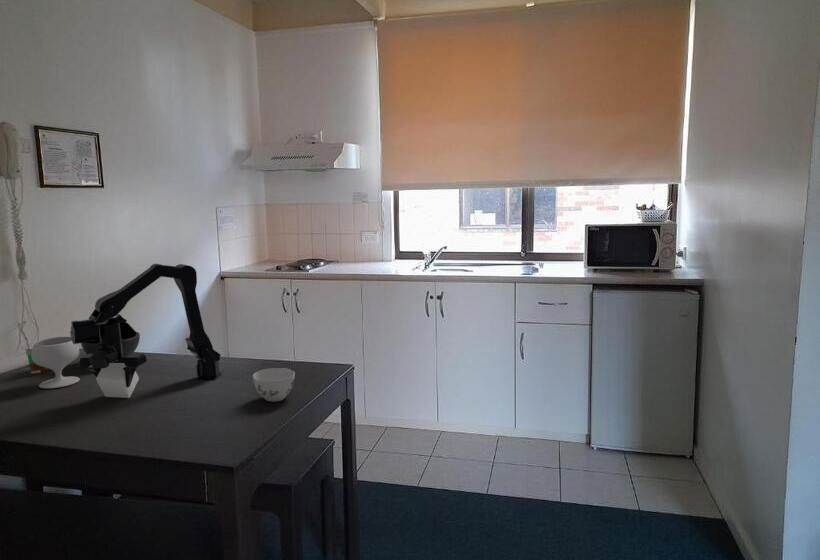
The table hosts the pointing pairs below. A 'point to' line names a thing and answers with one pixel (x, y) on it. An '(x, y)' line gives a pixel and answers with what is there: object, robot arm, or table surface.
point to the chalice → (55, 359)
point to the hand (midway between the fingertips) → (115, 386)
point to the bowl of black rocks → (127, 334)
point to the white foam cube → (115, 381)
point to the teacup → (274, 383)
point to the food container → (34, 367)
